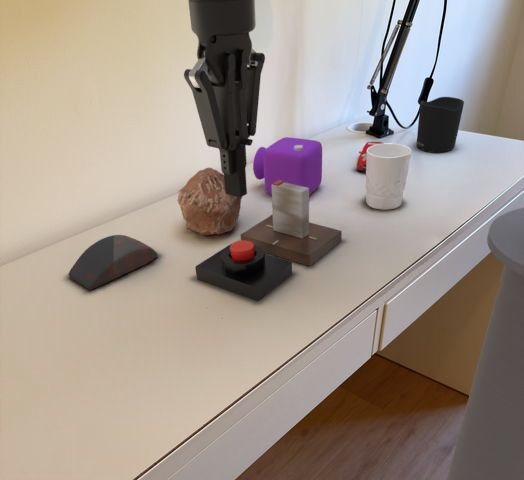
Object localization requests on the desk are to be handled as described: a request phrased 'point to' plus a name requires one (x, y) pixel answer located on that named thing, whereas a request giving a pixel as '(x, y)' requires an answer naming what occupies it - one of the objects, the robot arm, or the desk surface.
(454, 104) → the pen holder
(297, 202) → the tap handle
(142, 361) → the desk surface
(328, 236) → the panel
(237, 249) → the button
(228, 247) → the button block
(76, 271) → the dark grey rounded block
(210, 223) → the decorative rock
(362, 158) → the race car
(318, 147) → the toy camera
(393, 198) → the white cup
